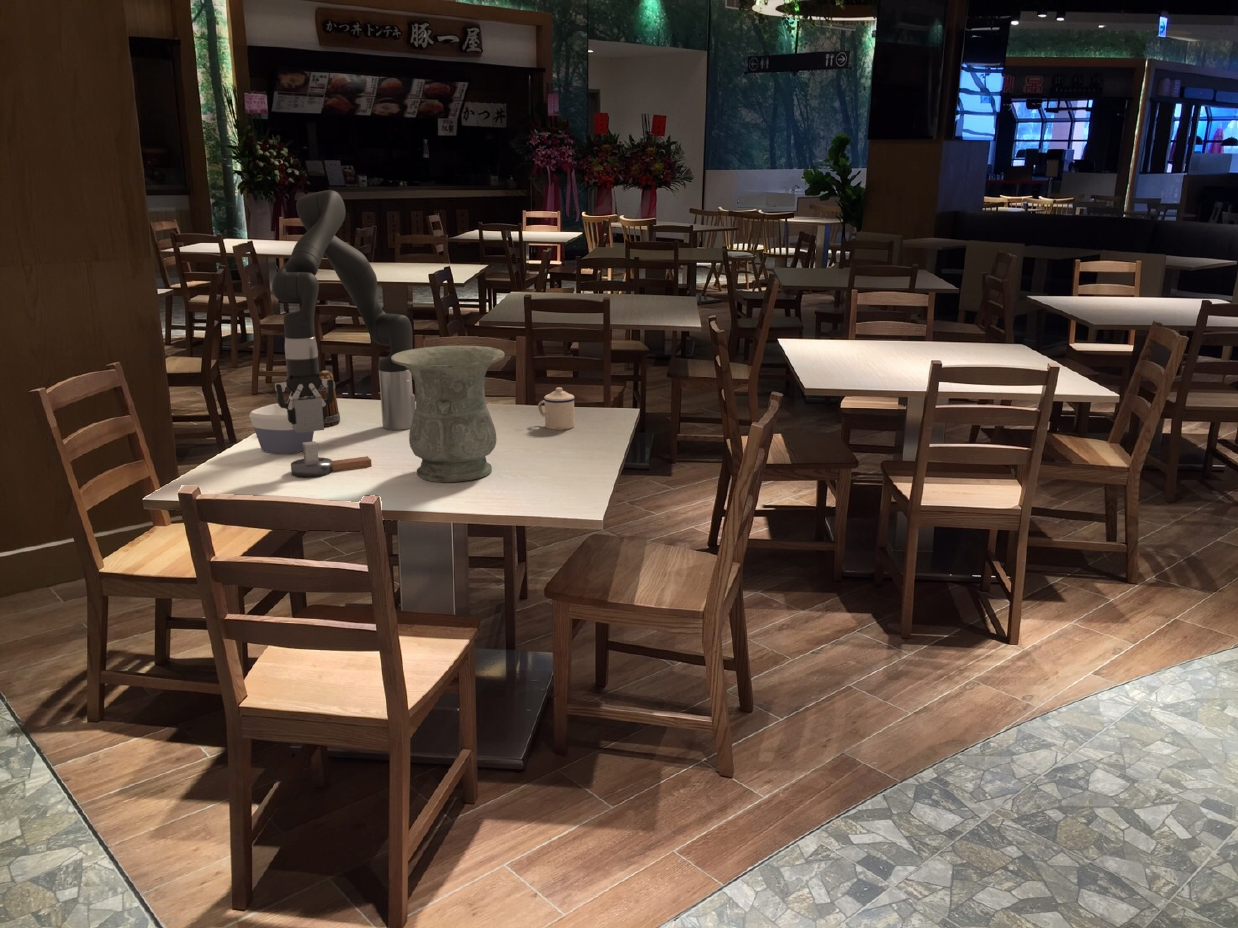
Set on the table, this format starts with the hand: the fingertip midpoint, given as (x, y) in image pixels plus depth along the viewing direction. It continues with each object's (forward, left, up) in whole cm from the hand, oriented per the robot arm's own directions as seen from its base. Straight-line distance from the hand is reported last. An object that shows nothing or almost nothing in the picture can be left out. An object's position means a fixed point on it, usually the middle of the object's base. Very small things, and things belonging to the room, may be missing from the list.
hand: (307, 422), depth 254 cm
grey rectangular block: (0, 0, -2) cm, 2 cm away
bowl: (+1, -27, -13) cm, 30 cm away
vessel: (-31, +18, -13) cm, 38 cm away
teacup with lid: (-74, -15, -13) cm, 77 cm away
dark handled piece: (-5, 0, -13) cm, 14 cm away
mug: (-15, -54, -13) cm, 58 cm away
